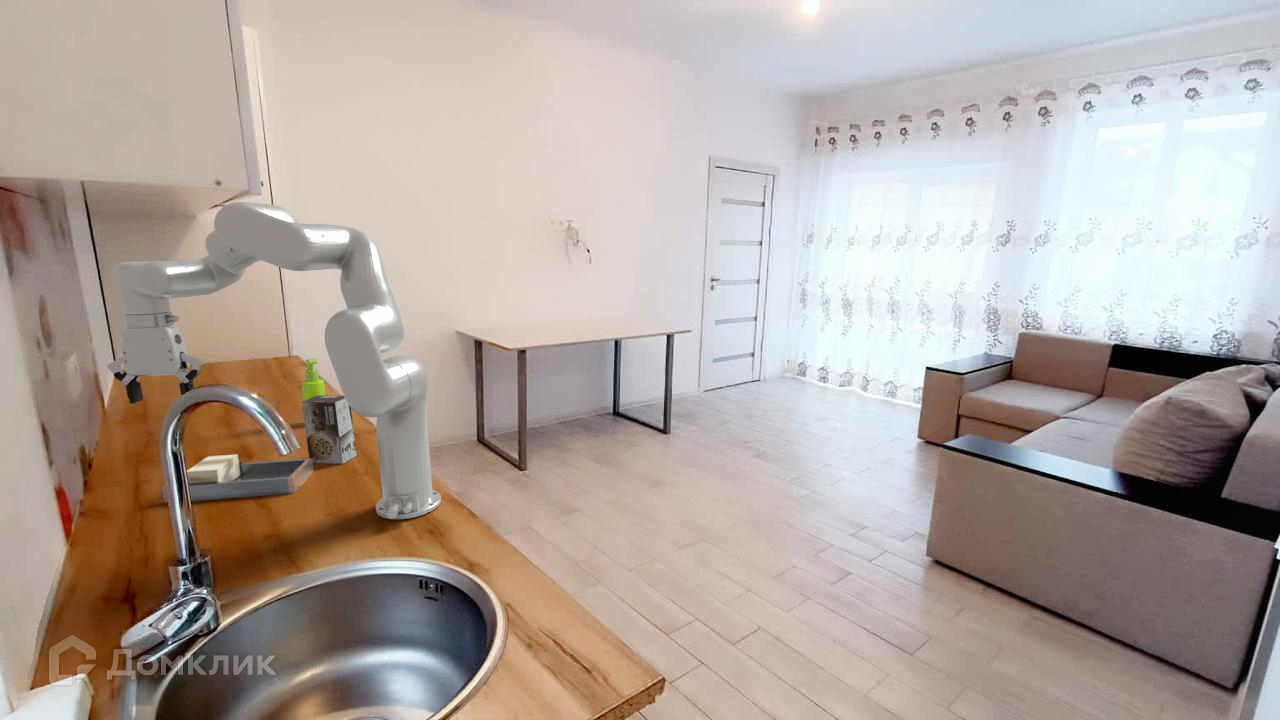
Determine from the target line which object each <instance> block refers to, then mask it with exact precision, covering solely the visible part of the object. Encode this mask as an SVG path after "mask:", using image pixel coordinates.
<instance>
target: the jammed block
mask: <svg viewBox="0 0 1280 720" xmlns="http://www.w3.org/2000/svg"><path fill="white" fill-rule="evenodd" d="M239 462H240V460H239V455H238V454H237V453H236V454H235V453H234V454H222V455H208V456H207V457H205V458H204V459H202V460H201V461H198V462H197V463H196V464H194V465H193V466H192V467H190V468H189V469H187V470H186V471H187V475H188V482H189V483H201V482H214V481H216V482H226V481H234V480H235V479H236V478H237V477H238V476H240V475H241V473H240V466H239Z"/></svg>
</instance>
